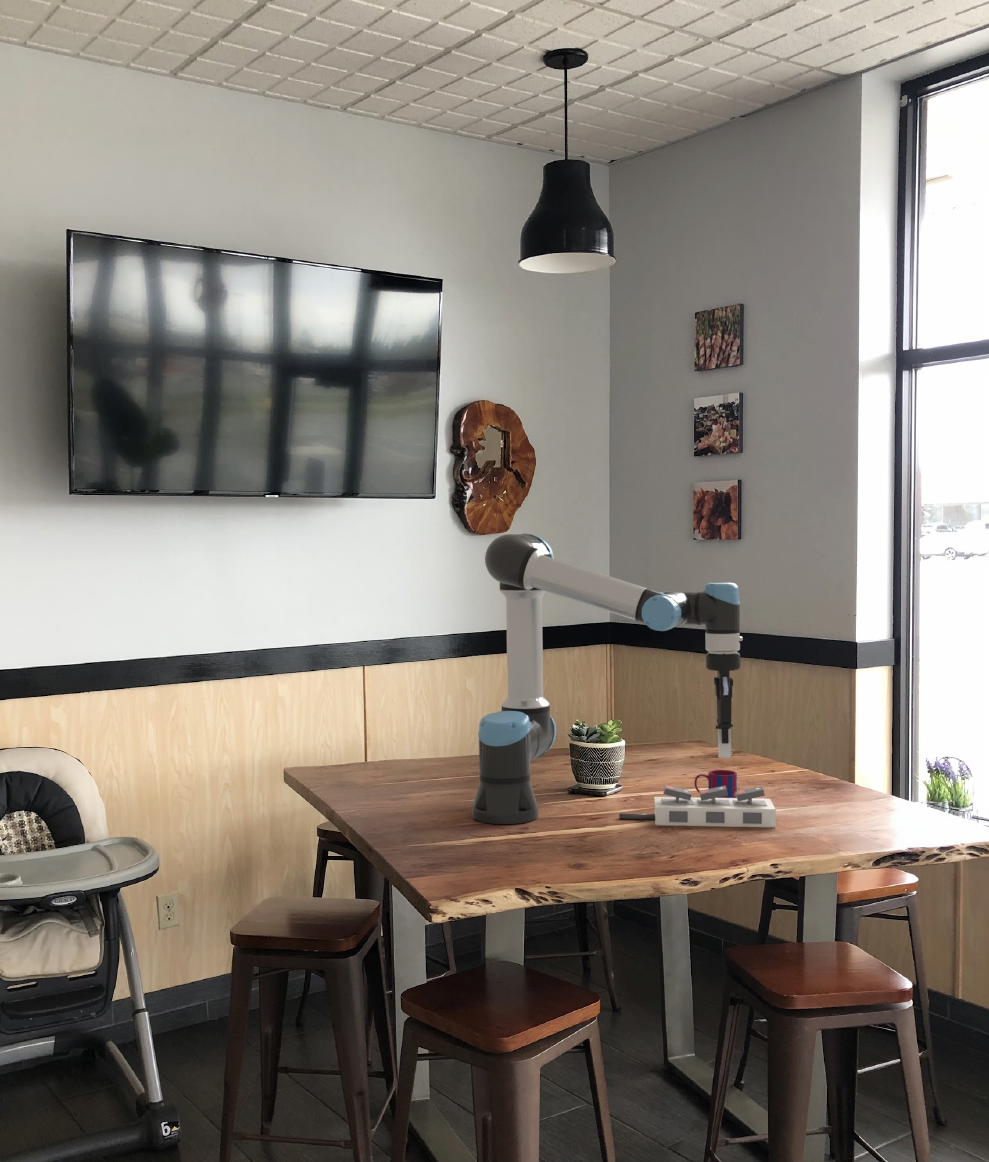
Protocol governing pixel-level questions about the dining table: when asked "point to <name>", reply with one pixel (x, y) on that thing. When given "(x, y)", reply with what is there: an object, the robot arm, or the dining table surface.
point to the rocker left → (677, 792)
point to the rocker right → (749, 793)
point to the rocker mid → (713, 793)
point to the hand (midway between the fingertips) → (724, 757)
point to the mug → (721, 781)
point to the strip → (710, 812)
